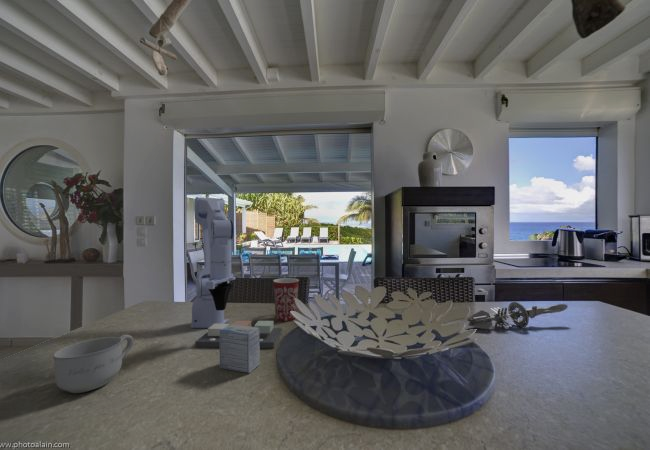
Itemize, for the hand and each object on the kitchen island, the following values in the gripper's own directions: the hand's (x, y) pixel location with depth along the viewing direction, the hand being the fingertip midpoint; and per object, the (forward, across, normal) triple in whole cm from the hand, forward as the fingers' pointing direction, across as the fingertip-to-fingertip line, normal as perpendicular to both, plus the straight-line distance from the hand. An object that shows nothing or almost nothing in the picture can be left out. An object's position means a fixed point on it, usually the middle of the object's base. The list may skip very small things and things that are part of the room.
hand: (220, 309), depth 81 cm
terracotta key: (+6, 0, -6) cm, 8 cm away
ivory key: (+7, 0, 0) cm, 7 cm away
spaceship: (+9, +14, -91) cm, 92 cm away
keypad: (+8, 0, -6) cm, 10 cm away
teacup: (+9, -23, +16) cm, 29 cm away
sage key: (+6, 0, -13) cm, 14 cm away
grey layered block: (+9, -16, -11) cm, 21 cm away
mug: (+9, +22, -15) cm, 28 cm away
